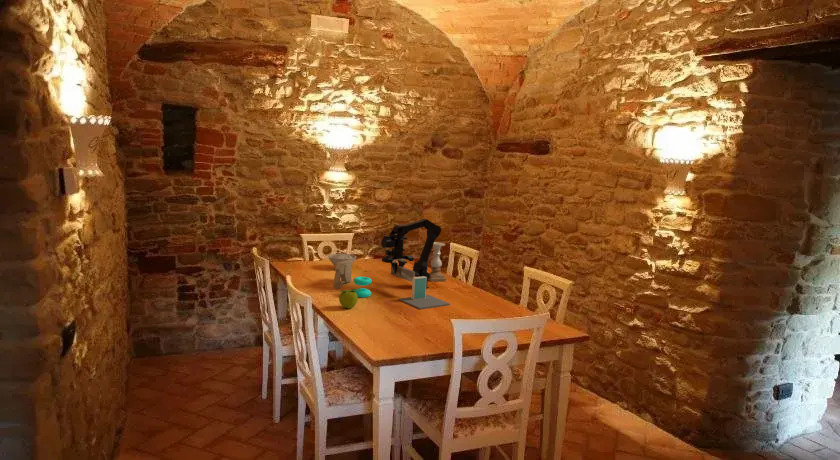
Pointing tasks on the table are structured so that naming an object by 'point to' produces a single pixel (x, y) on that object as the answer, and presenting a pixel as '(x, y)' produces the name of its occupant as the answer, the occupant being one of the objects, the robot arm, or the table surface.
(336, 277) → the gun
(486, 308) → the table surface
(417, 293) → the tile
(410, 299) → the grey square plate
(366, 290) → the donuts
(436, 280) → the candle holder
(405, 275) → the brown upright panel
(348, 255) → the bowl
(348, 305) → the fruit
